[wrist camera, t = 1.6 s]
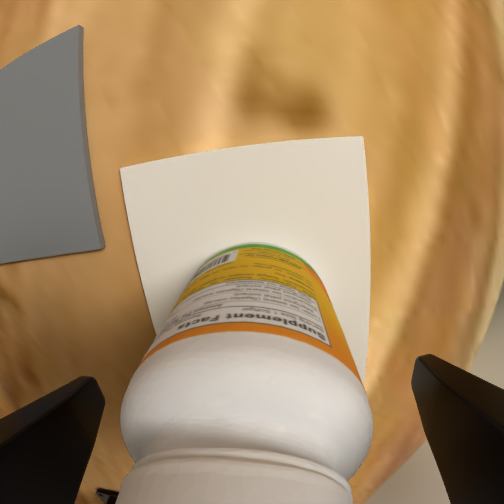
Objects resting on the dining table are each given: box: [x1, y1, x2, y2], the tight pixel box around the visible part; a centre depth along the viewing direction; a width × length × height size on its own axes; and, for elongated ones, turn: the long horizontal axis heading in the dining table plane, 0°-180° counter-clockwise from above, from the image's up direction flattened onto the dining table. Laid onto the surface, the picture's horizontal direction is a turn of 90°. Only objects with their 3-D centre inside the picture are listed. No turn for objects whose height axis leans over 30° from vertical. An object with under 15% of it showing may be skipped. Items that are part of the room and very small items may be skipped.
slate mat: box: [0, 25, 105, 264], centre depth 11 cm, size 10×10×1 cm
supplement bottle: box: [115, 242, 373, 504], centre depth 7 cm, size 5×5×10 cm
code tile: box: [120, 136, 370, 386], centre depth 12 cm, size 12×9×1 cm
